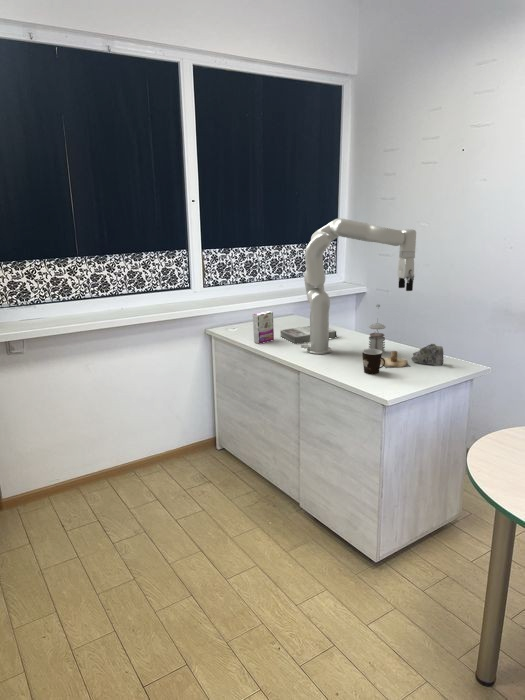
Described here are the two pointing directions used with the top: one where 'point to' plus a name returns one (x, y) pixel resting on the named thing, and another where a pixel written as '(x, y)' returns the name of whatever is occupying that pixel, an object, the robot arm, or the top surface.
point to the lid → (394, 361)
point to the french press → (377, 337)
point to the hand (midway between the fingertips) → (405, 289)
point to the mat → (397, 367)
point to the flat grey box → (301, 334)
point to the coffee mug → (372, 361)
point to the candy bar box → (263, 327)
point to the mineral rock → (429, 355)
